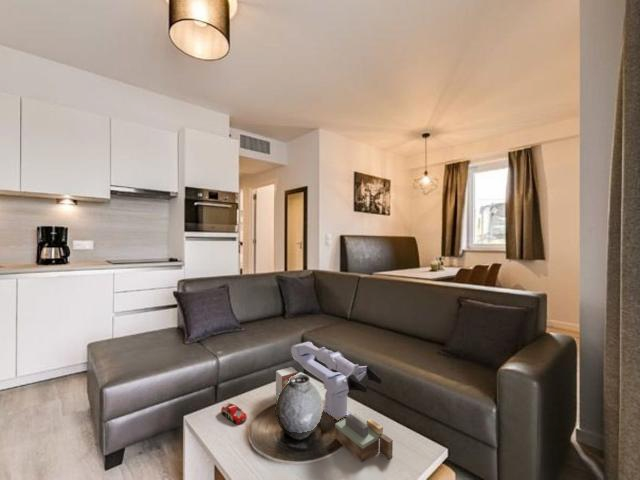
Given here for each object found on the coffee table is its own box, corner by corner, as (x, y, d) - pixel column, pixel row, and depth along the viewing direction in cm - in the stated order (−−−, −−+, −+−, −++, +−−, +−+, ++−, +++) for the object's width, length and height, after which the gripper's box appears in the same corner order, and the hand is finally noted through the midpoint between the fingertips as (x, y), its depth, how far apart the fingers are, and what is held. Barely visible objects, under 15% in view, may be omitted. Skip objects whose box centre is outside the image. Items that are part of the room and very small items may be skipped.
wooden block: (366, 425, 109) (366, 420, 109) (370, 423, 111) (370, 418, 110) (379, 434, 105) (379, 428, 105) (382, 432, 106) (382, 426, 106)
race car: (249, 421, 122) (249, 411, 122) (237, 427, 118) (237, 417, 118) (230, 407, 130) (230, 398, 130) (219, 413, 126) (219, 404, 126)
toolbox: (335, 438, 111) (335, 423, 111) (354, 428, 117) (355, 413, 117) (371, 470, 97) (372, 452, 96) (392, 456, 103) (392, 440, 102)
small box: (281, 405, 132) (281, 376, 132) (275, 398, 137) (275, 370, 137) (297, 400, 136) (298, 371, 136) (291, 393, 142) (291, 366, 141)
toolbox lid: (335, 429, 111) (335, 415, 111) (355, 419, 117) (355, 406, 117) (362, 451, 100) (362, 436, 100) (382, 439, 106) (383, 424, 106)
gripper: (334, 367, 116) (358, 383, 105) (361, 353, 125) (386, 367, 114) (335, 383, 117) (359, 401, 106) (362, 369, 126) (387, 384, 115)
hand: (373, 385), depth 110 cm, fingers open, 7 cm apart
